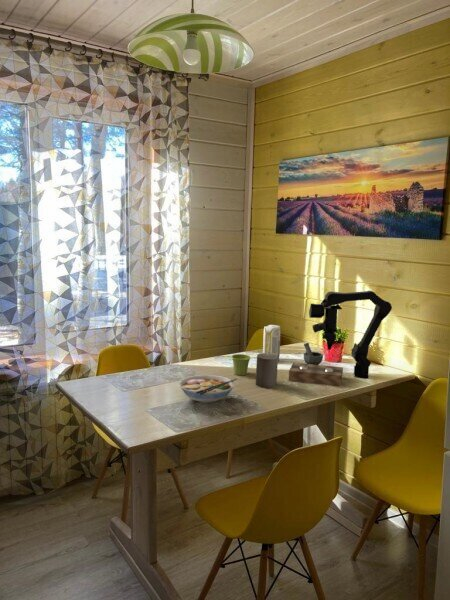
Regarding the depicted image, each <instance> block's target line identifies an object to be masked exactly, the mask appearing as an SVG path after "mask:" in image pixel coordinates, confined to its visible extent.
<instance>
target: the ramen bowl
mask: <svg viewBox="0 0 450 600" xmlns="http://www.w3.org/2000/svg"><path fill="white" fill-rule="evenodd" d="M237 380H238V378H234V379H230V378H228V377H226V376H220V375H215V374H213V375H212V374H200V375H199V374H198V375H197V374H196V375H191V376H186V377H184V378H182V379H180V381H179V383H178V384H179V387H180V389H181V390H182V392H183V393H184V394H185V396H187V397H188V398H189V399H191V400H193V401H196V402H199V403H202V404H212V403H215V402H217V401H221V400H223V399H224V398H225V397H227V396H228V395H229V394H230V393H231V392H232V390H233V388H234V385H235V382H234V381H237Z"/></svg>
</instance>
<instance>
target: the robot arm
mask: <svg viewBox="0 0 450 600" xmlns="http://www.w3.org/2000/svg"><path fill="white" fill-rule="evenodd" d="M367 300H370V301H371V303H373V304H374V305H375V307H374V309H373V316H372V318H371V320H370V322H369V324H368V326H367V328H366V330H365V332H364V333H363V336H362V338H361V340H360V341H359V342H358V343H356V342H355V343H354V344H353V347H352V348H351V350H350V351H351V357H352V358H353V359H354V362H355V365H354V366H353V376H354V378H361V379H369V377H370V376H369V374H370V373H369V372H370V367H371V364H372V362H371V361H370V360H369V359H368V358H367V357H368V354H369V348H370V345H371V343H372V342H373V341H372V340H373V339H374V337H375V335H376V334H377V331H378V329H379V328H380V326H381V324H382V321H383V320H384V319H386V317H387V316H388V315H389V314H390V312H392V309H393V306H392V304H391V303H390V302H389V301H387V300H385V299H383V298H381V297H380V296H379V295H378V294H377V293H376V292H375V291H372V290H367V291H366V290H363V291H352V292H339V291H327V292H326V294H325V295H324V298H323V300H322V301H321V302H320V303H310V306H309V309H308V317H309V318H310V319H311V318H312V319H322V318H323V317H324V320H323V322H318V323H314V324H312V330H313V332H314V334H315V333H318V332H322V331H323V333H322V340H326V346H327V350H328V351H330V350H332V348H333V345H334V344H335V341H336V340H337V333H338V327H337V325H338V310H343V309H342V307H341V305H340V304H343V303H346V302H354V301H355V302H356V301H357V302H358V301H367Z"/></svg>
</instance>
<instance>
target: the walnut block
mask: <svg viewBox="0 0 450 600" xmlns="http://www.w3.org/2000/svg"><path fill="white" fill-rule="evenodd" d="M300 366H307V367H308V369H300ZM326 368H331V369H334V372H328V371H325V369H326ZM343 371H344V368H343V367H342V366H334V365H333V366H331V365H321V364H319V365H313V364H307V363H300V362H292V364H291V366H290V369H289V371H288V382H289V381H290V382H296V383H305V382H306V384H307V383H309V384H316V385H325V386H326V385H327V386H335V387H341V386H342V382H343V381H342V380H343Z"/></svg>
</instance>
